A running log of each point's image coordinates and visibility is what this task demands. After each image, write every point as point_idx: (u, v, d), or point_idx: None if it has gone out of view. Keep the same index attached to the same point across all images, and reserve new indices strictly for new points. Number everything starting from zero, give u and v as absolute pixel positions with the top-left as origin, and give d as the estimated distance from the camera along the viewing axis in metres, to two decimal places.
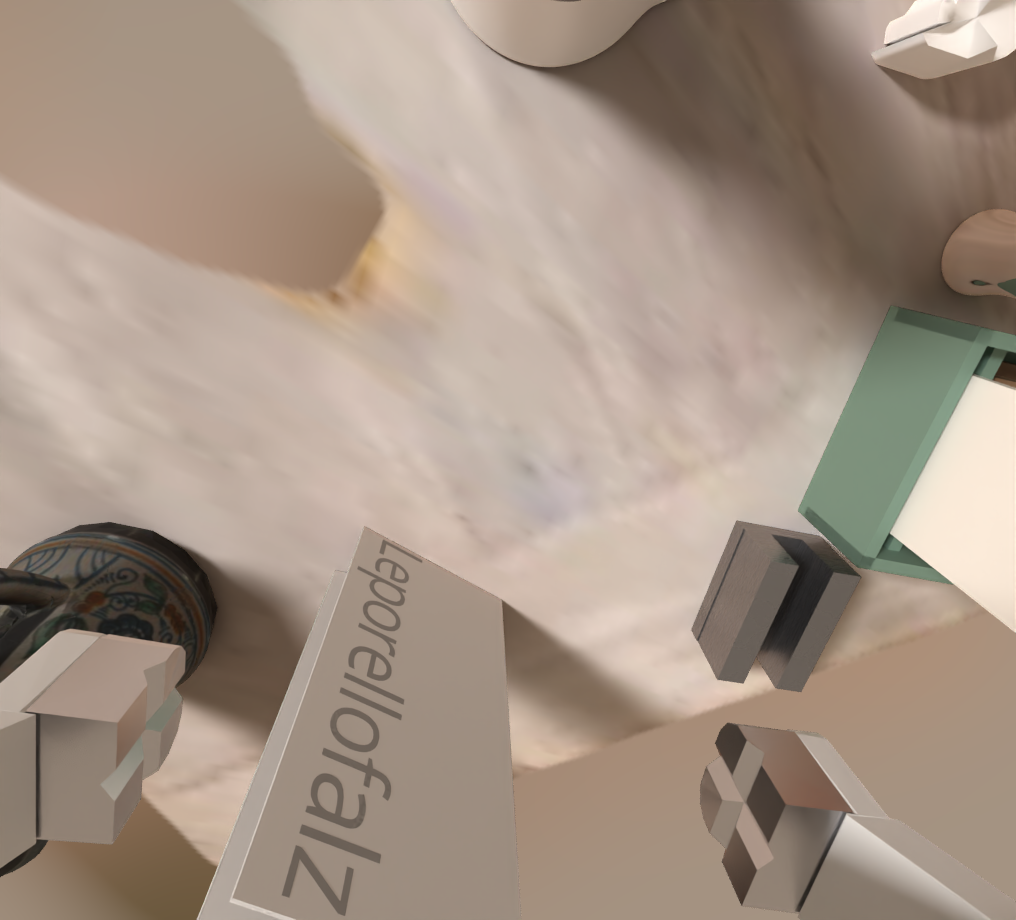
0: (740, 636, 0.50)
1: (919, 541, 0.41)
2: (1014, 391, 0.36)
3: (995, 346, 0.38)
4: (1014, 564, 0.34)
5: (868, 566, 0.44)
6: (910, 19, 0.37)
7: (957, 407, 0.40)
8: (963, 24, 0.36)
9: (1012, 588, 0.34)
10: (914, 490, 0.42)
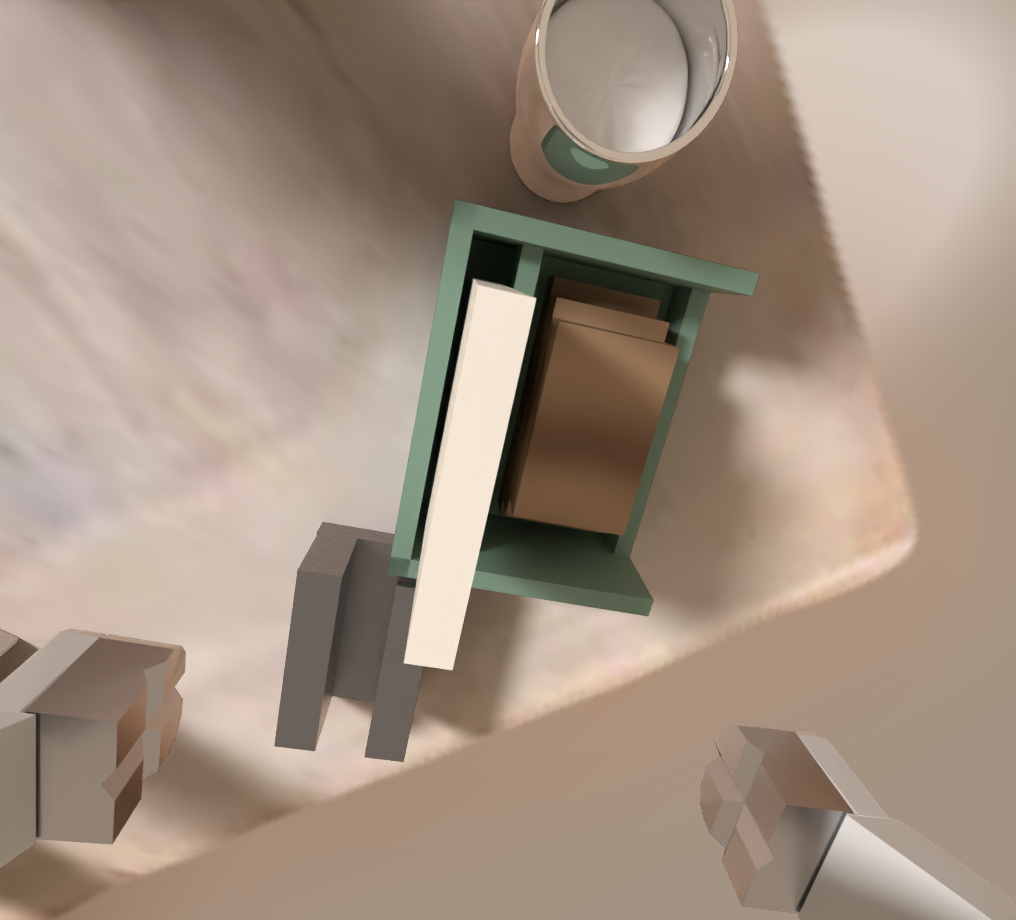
0: (288, 683, 0.35)
1: (425, 528, 0.28)
2: None
3: (486, 230, 0.26)
4: (425, 543, 0.21)
5: (403, 572, 0.31)
6: None
7: None
8: None
9: (418, 583, 0.20)
10: (438, 456, 0.29)
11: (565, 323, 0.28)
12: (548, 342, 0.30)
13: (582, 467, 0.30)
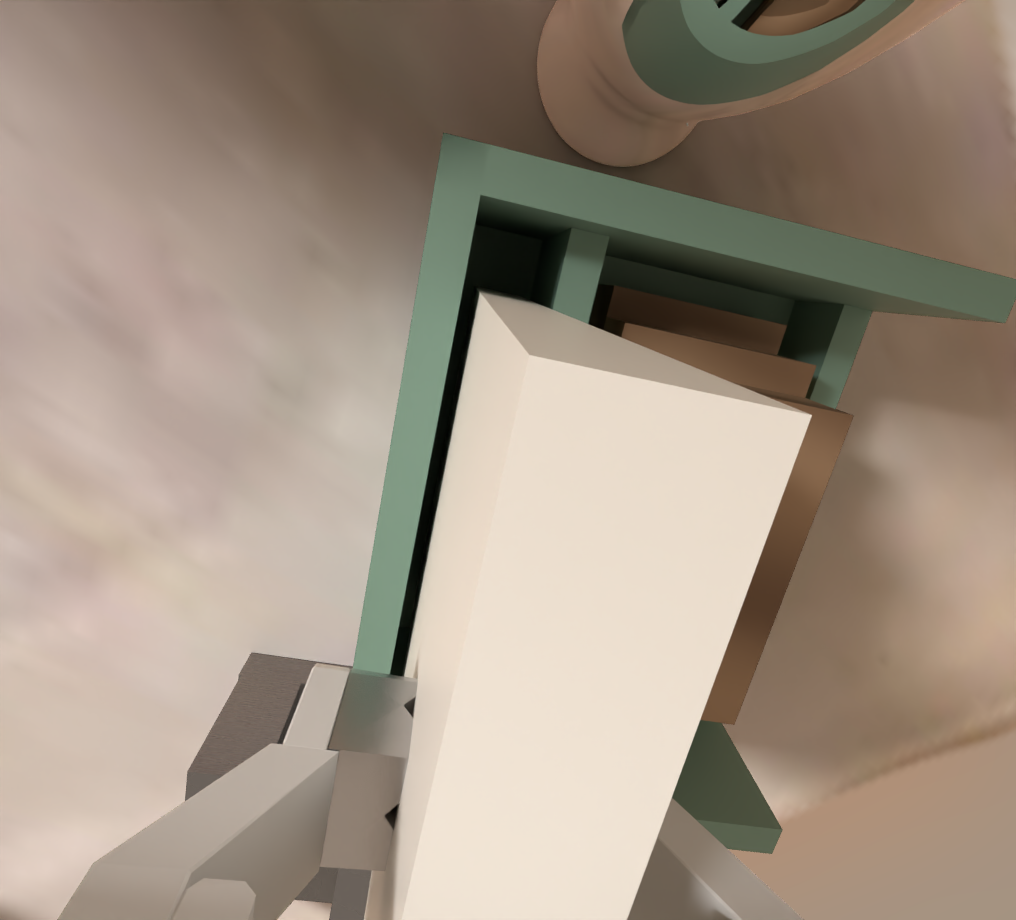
0: None
1: None
2: (483, 302, 0.11)
3: (505, 196, 0.13)
4: None
5: None
6: None
7: (461, 384, 0.14)
8: None
9: None
10: (416, 611, 0.16)
11: None
12: None
13: None
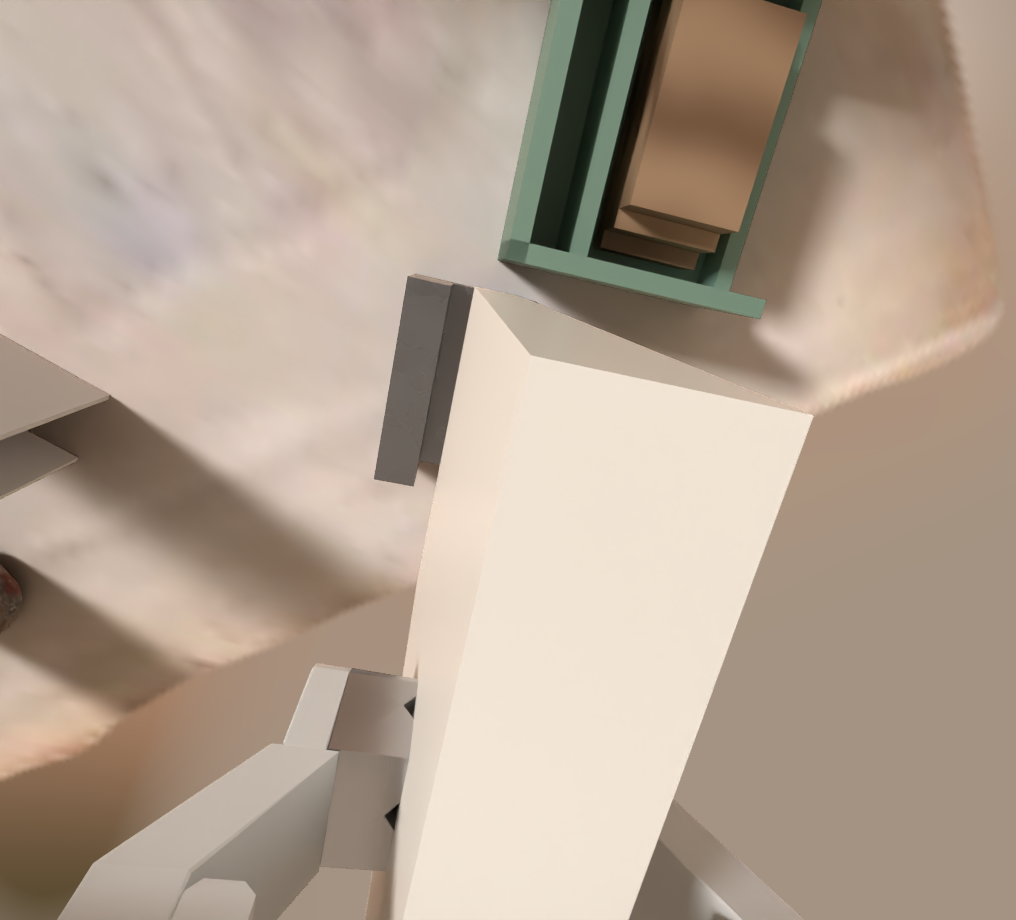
0: (391, 406, 0.35)
1: None
2: (483, 302, 0.11)
3: None
4: None
5: (522, 257, 0.31)
6: None
7: (461, 384, 0.14)
8: None
9: None
10: (416, 611, 0.16)
11: None
12: (670, 21, 0.30)
13: (702, 149, 0.30)
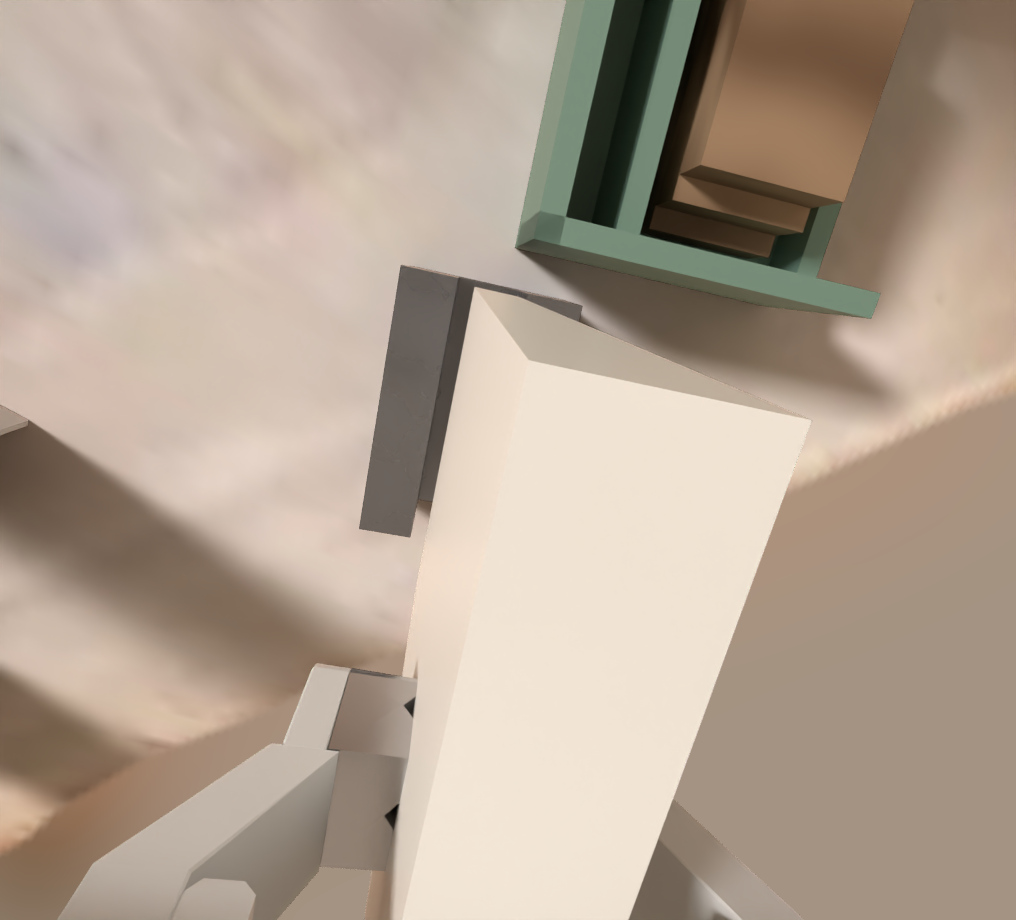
0: (380, 436, 0.27)
1: None
2: (482, 303, 0.11)
3: None
4: None
5: (555, 237, 0.23)
6: None
7: (461, 385, 0.14)
8: None
9: None
10: (415, 612, 0.16)
11: None
12: None
13: (800, 89, 0.22)
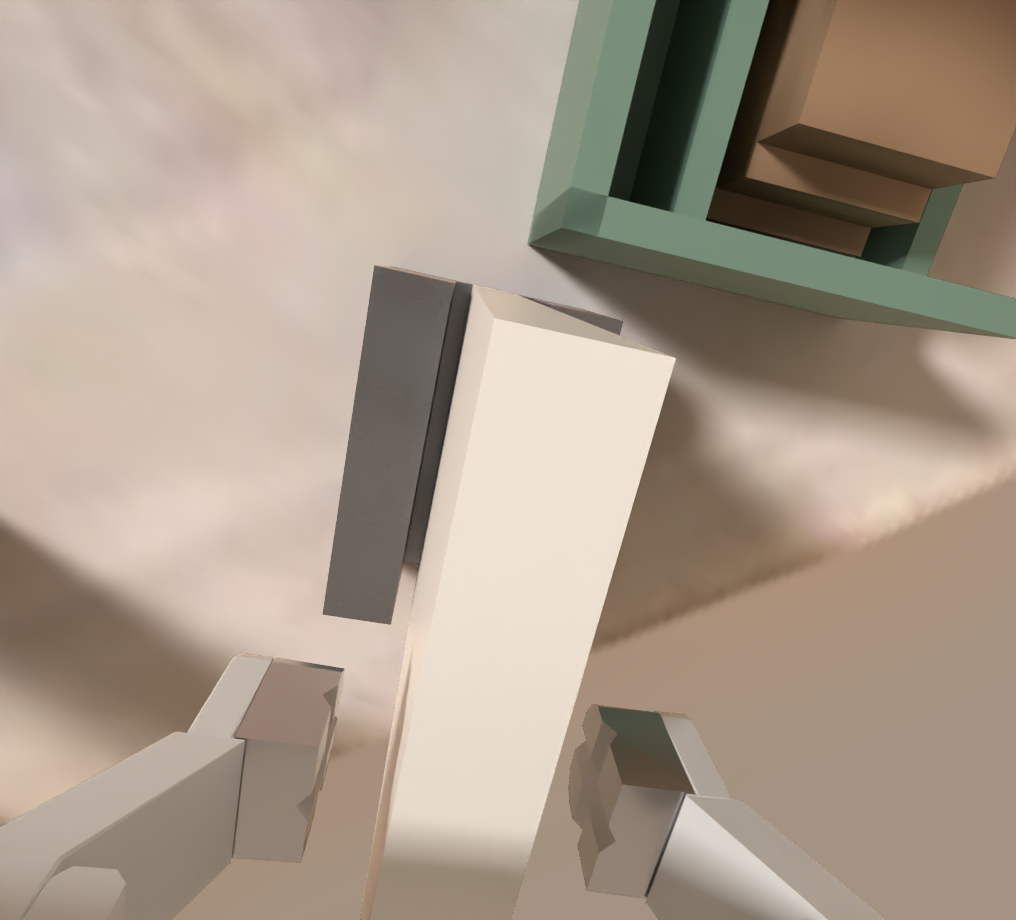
0: (349, 495, 0.20)
1: None
2: (477, 295, 0.13)
3: None
4: (374, 861, 0.10)
5: (592, 225, 0.16)
6: None
7: (459, 370, 0.16)
8: None
9: None
10: None
11: None
12: None
13: (944, 13, 0.16)
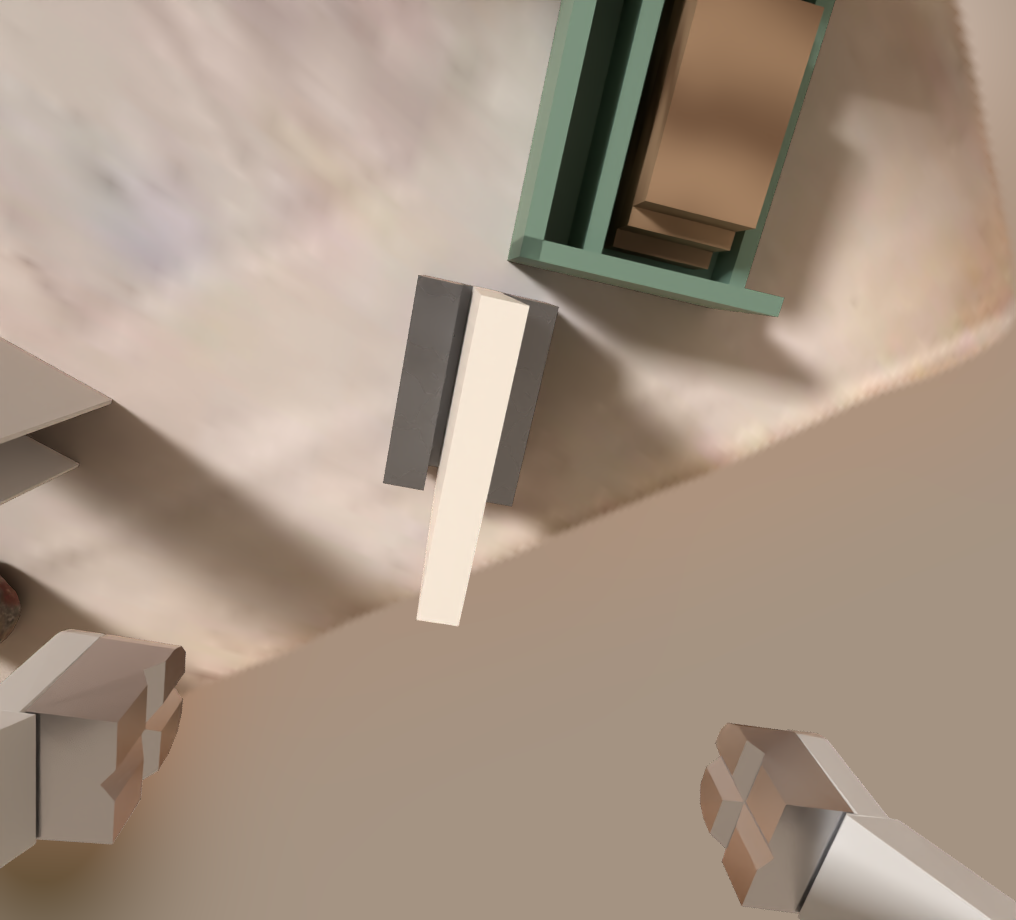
0: (401, 408, 0.34)
1: (432, 511, 0.31)
2: None
3: None
4: (434, 518, 0.24)
5: (536, 255, 0.30)
6: None
7: (466, 331, 0.31)
8: None
9: (428, 552, 0.24)
10: None
11: None
12: (684, 16, 0.30)
13: (718, 145, 0.30)
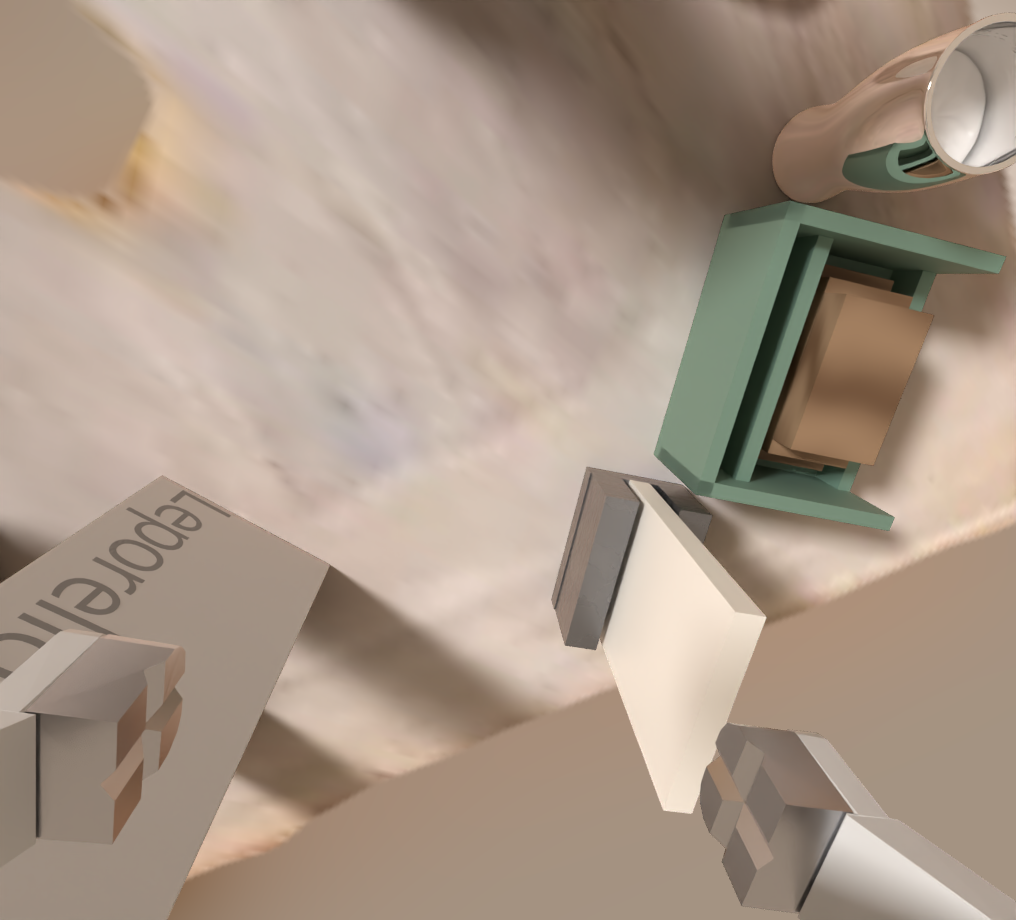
0: (584, 591, 0.43)
1: (625, 687, 0.40)
2: (677, 541, 0.36)
3: (809, 223, 0.34)
4: (666, 729, 0.33)
5: (707, 493, 0.39)
6: None
7: (651, 549, 0.40)
8: None
9: (663, 755, 0.33)
10: (626, 630, 0.41)
11: (851, 295, 0.37)
12: (823, 312, 0.39)
13: (848, 409, 0.39)
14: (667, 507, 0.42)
